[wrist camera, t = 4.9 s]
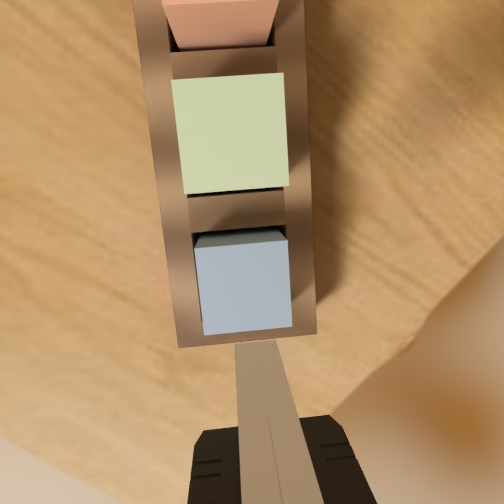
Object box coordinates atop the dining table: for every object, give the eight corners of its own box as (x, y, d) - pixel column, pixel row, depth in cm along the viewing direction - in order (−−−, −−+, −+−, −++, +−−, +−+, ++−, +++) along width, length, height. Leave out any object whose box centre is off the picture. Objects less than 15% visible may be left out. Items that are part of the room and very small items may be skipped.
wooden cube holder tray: (134, -66, 25) (117, -111, 21) (288, -72, 25) (299, -117, 22) (184, 326, 31) (178, 348, 27) (306, 314, 32) (317, 334, 28)
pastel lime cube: (186, 105, 25) (170, 79, 19) (268, 100, 26) (283, 72, 19) (195, 189, 27) (184, 194, 20) (273, 183, 27) (289, 185, 20)
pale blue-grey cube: (202, 231, 29) (194, 248, 22) (273, 225, 29) (287, 240, 23) (209, 299, 30) (204, 335, 24) (278, 293, 31) (292, 326, 24)
